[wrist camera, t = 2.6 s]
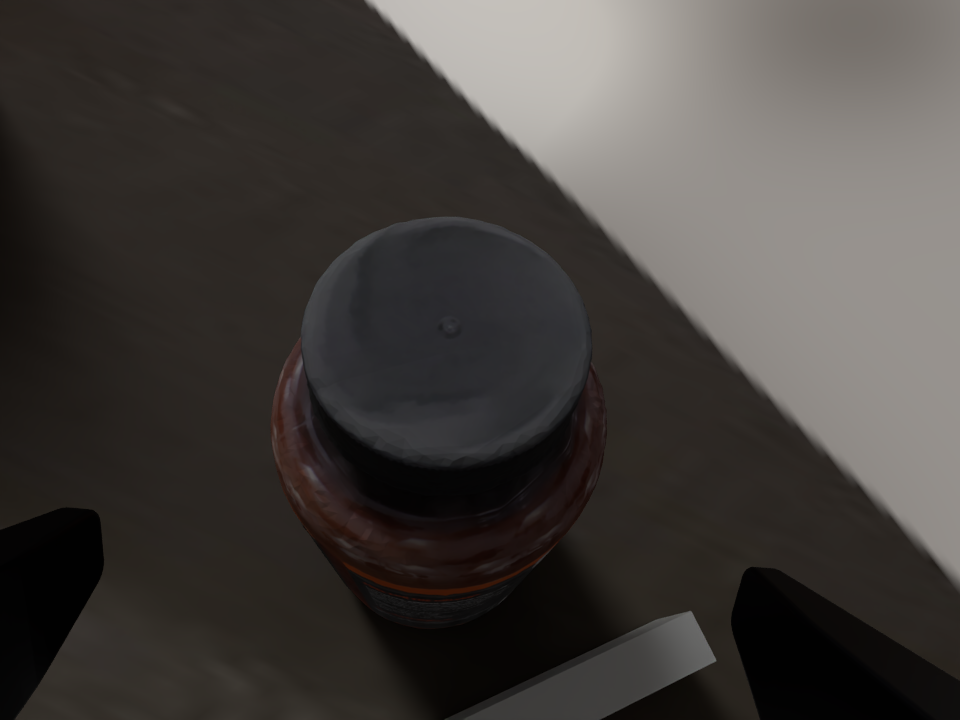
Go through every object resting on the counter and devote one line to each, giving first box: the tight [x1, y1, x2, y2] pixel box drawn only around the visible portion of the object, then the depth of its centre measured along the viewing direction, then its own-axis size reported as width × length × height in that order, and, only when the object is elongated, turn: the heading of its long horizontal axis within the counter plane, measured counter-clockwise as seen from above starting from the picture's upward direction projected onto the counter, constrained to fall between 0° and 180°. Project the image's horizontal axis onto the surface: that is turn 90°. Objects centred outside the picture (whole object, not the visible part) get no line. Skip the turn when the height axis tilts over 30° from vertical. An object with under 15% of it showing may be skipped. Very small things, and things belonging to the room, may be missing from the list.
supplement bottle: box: [271, 217, 607, 629], centre depth 13 cm, size 6×6×11 cm
